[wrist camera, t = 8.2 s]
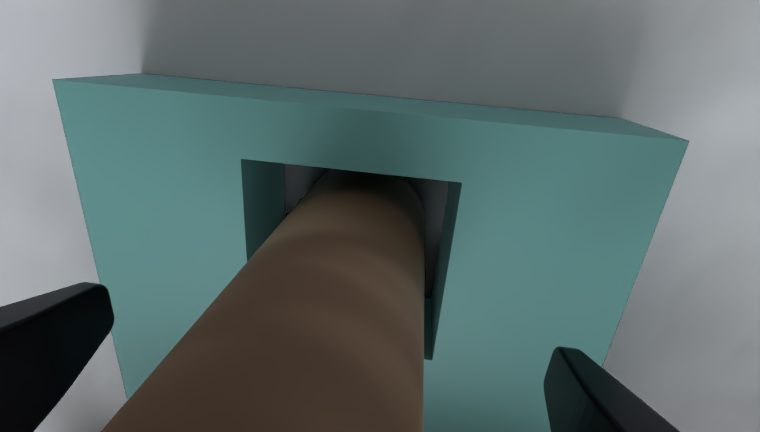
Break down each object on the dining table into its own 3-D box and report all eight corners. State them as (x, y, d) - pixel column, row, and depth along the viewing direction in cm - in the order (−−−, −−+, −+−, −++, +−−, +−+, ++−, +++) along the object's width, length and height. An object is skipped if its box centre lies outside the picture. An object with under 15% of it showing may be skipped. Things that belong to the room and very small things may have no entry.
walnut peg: (432, 169, 12) (452, 557, 3) (417, 281, 13) (397, 768, 4) (304, 155, 12) (-68, 465, 3) (304, 266, 14) (57, 695, 5)
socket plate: (622, 118, 11) (1041, 257, 3) (500, 507, 17) (553, 838, 10) (139, 73, 12) (-338, 106, 4) (197, 457, 18) (45, 726, 11)
